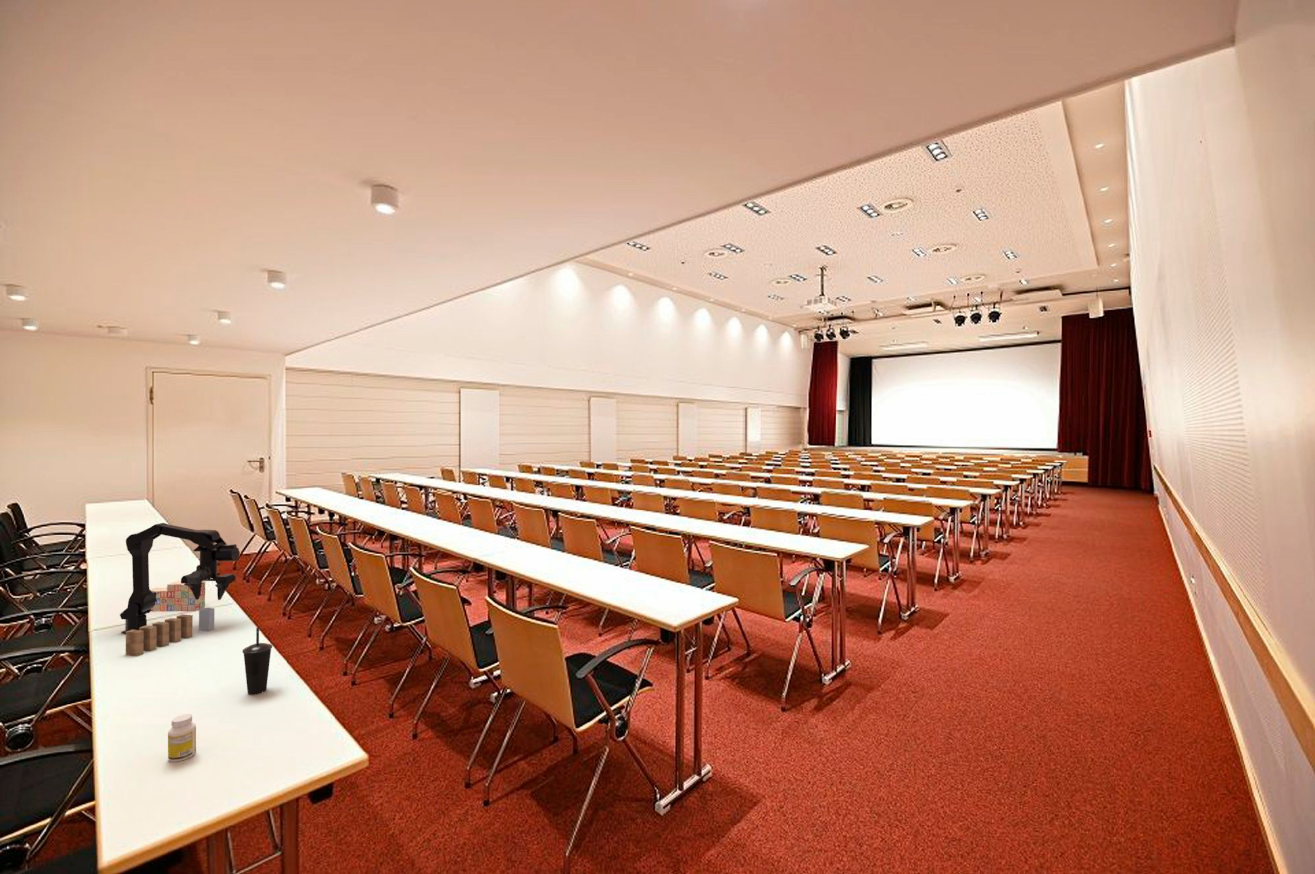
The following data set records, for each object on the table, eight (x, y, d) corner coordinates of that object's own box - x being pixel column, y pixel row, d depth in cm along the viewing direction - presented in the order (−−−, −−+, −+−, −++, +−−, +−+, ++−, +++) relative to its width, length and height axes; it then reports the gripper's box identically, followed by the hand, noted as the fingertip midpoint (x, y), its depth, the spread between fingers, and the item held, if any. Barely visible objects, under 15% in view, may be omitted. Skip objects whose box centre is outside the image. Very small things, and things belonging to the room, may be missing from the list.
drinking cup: (277, 688, 181) (278, 625, 181) (253, 698, 174) (254, 633, 174) (260, 684, 184) (260, 622, 184) (236, 694, 177) (236, 630, 176)
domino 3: (152, 646, 215) (152, 623, 215) (158, 643, 217) (158, 621, 217) (162, 647, 214) (163, 624, 214) (168, 645, 216) (169, 622, 216)
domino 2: (139, 650, 210) (139, 627, 210) (145, 648, 213) (145, 625, 212) (150, 651, 209) (150, 628, 209) (156, 649, 212) (156, 626, 212)
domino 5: (176, 637, 224) (176, 616, 224) (182, 635, 226) (182, 614, 226) (186, 638, 223) (187, 617, 223) (192, 636, 225) (192, 615, 225)
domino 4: (164, 641, 219) (164, 619, 219) (170, 639, 221) (170, 618, 221) (175, 642, 218) (175, 620, 218) (180, 640, 220) (181, 618, 220)
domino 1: (125, 655, 206) (125, 631, 206) (132, 652, 208) (132, 629, 208) (136, 656, 205) (136, 632, 205) (143, 654, 207) (143, 630, 207)
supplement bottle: (178, 750, 146) (178, 712, 145) (201, 750, 146) (201, 712, 146) (162, 763, 140) (162, 723, 140) (185, 762, 141) (185, 722, 141)
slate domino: (198, 629, 233) (199, 609, 232) (204, 628, 235) (204, 607, 235) (209, 630, 232) (209, 610, 232) (214, 629, 234) (214, 608, 234)
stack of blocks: (145, 611, 255) (145, 584, 255) (156, 607, 261) (157, 580, 261) (195, 611, 256) (195, 584, 256) (205, 607, 262) (205, 580, 262)
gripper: (168, 565, 226) (168, 605, 226) (215, 566, 225) (215, 606, 225) (192, 559, 237) (192, 597, 237) (236, 560, 236) (236, 597, 236)
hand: (208, 599), depth 234 cm, fingers open, 9 cm apart
